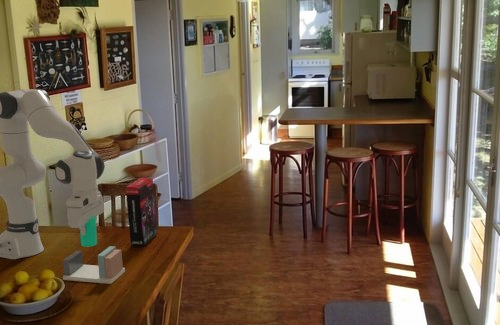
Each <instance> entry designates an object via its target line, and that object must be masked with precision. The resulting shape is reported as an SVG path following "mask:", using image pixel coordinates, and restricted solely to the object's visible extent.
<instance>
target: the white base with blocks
mask: <svg viewBox="0 0 500 325" xmlns="http://www.w3.org/2000/svg"><path fill="white" fill-rule="evenodd" d="M116 247H117V246H115V245H114V246H111V245H109V246H108V247H107V248H105V249H104V250H103V251H102V252H100V253H99V254H98V255H97V265H94V264H93V265H92V264H83V266H82V267H80V268H79V269H78V270H76V271H75V272H74V273H72V274H71V275H64V274H63V275H62V279H63V281H74V282H82V283H83V282H84V283H85V282H87V283H95V284H109V285H111V284H113V283H114V282H115V281H116V280H117V279H119V278H120V277H121V276H122V275H123V274H124V273H125V272H126V268H125V267H124V266H123V254H122V249H117V248H116Z"/></svg>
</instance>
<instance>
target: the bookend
mask: <svg viewBox="0 0 500 325" xmlns="http://www.w3.org/2000/svg"><path fill="white" fill-rule="evenodd" d="M83 265H84V259H83V251H82V250H75V251H74V252H72V253H71V254H70V255H68V256H66V257H65V258H63V260H62V266H63V276H64V275H71V274H72V273H74V272H75V271H76V270H78V269H79V268H80V267H82V266H83Z"/></svg>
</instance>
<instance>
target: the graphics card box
mask: <svg viewBox="0 0 500 325" xmlns="http://www.w3.org/2000/svg"><path fill="white" fill-rule="evenodd" d="M154 188H155V187H154V180H153V178H151V177H139V178H137V179H136V180H135V181H134V182H131V183H130V184H129V185H126V187H125V195H126V196H125V197H126V206H127V216H128V227H129V237H130V247H136V248H137V247H139V248H140V247H141V248H142V247H143V248H144V247H146V245H147V244H148V243H150V241H152V239H154V238H155V237H156V236H157V235H158V227H157V225H158V224H157V214H156V211H157V210H156V202H155V190H154Z"/></svg>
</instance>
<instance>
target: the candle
mask: <svg viewBox="0 0 500 325" xmlns="http://www.w3.org/2000/svg"><path fill="white" fill-rule="evenodd" d="M84 227H85V229H86V235H81V230H80V229H79V232H80V234H79V235H80V236H79V237H80V246H82V247H88V248H89V247H94V246H96V245H97V244H98V232H97V220H96V217H93V218H91V219H89V221H88V222H87V223H86V224H85V226H84Z"/></svg>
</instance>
